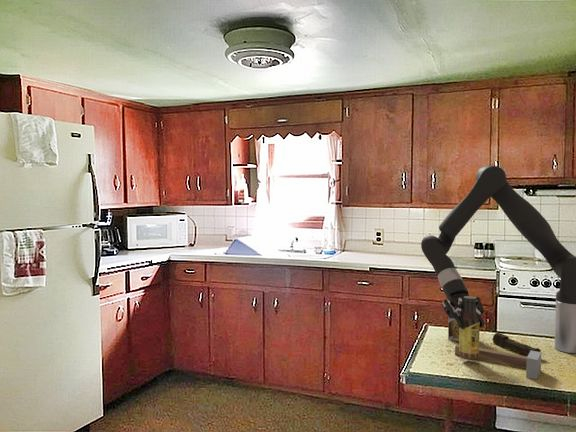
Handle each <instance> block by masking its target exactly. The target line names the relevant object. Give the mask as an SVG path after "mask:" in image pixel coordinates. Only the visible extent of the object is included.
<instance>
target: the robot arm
mask: <svg viewBox="0 0 576 432" xmlns="http://www.w3.org/2000/svg"><path fill="white" fill-rule="evenodd" d="M475 175H476V176H475V183H474V185H473V187H472V188H471V189H470V191H469V193H468V194H466V196H465V197H464V198H463V199H462V200H461V201H460V202H459V203H458V204H457V205H456V206H455V207H453V208H452V209H451V210H450V212H449V213H448V214H447V215H446V217H445V218H444V219H443V221H442V222H440V224H439V226H438V230H439V231H440V233H439V235H438V237H436V236H435V235H433V234H432V235H431V234H430V235H426V236H424V237H423V238H422V240H421V243H420V244H421V246H420V247H421V251H422V253H423V255H424V256H425V258H426V260H427V261H428V262H429V264H430V265H431V266H432V268H433V270H434V272H435V275H436V277H437V279H438V282H439V285H440V288H441V289H442V291H443V293H444V296H445V298H446V299H444V300H443V301H442V302H441V306H442V308H443V310H444V313H446V315H447V317H449V318H450V319H451V318H454V319H455V320H456V321H457V323H458V325H459V327H460V328H461V329H465V328H466V324H465V322H464V320H463V318H462V316H461V311H464V296H470V294H469V290H468V287H467V285H466V284H465V283H464V282H465V281H464V280H463V278H462V276H461V274H460V272H458V270H457V267H456V266H455V264H454V262H453V260H452V259H451V258H450V257H449V256H448V255H447V254H448V253H449V252H450V249H451V248H452V246H453V244H454V241H455V239H456V237H457V235H459V233H460V232H461V231H462V230H463V229H464V227H465V226H466V225H467V224H468V223H469V221H470V220H471V219H472V218H473V217H474V215H475V214H476V213H477V212H478V210H479V209H480V208H481V207H482V206H483V205H484V204H485V203H486V202H487V201H488V200H489V199H490V198H491V199H493V201H495V203H497V205H498V206H499V207H500V208H501V210H502V212H503V213H504V214H505V215H506V217H507V219H508V220H509V221H510V222H511V223H512V225H513V226H514V227H515V229H516V230H517V231H518V232H519V233H520V234H521V235H522V236H523V238H524V239H525V240H526V241H528V243H530V245H531V246H533V247H534V248H535V249H536V250H537V251H538V252H539V253H540V254H541V255H542V257H543V258H544V259H545V260H546V262H547V263H548V264H549V266H550V267H551V269H552V271H554V274H555V275H557V277H559V279H560V286H559V290H558V291H557V292H556V293H555V294H556V295H555V326H554V328H555V329H554V333H555V334H554V348H555V349H556V350H557V351H559V352H562V353H568V354H576V256H575V255H574V254H573V253H571V252H570V251H569V250H568V249H567V248H566V247H565V246H564V245H563V244H562V243H561V242H560V241H559V239H558V238H557V236H556V235H555V232H554V230H553V229H552V227H551V225H550V224H549V222H548V221H547V220H546V218H545V217H544V216H543V215H542V214H541V213H540V211H538V209H536V208H535V207H534V206H533V204H531V203H530V202H529V201H528V200H527V199H525V198H524V197H522V196H521V194H519V193H518V192H516V190H515V189H514V188H513V187H512V186H511V184H510V183H509V181H507V174H506V172H505V170H504V169H503V168H501V167H500V166H497V165H493V164H492V165H484V166H482V167H481V168H479V169H478V170H477V172H476V174H475ZM475 297H476V298H477V302H476V312H477V315H478V318H479V321H480V328H483V327H484V326H485V321H484V319H483V317H482V315H483V314H484V313H485V312H486V311H485V309H484V307H483V303H482V300H481V299H480V297H479V296H475ZM450 305H451V306H453V307H454V311H453V309H452V307H451V306H450ZM460 316H461V317H460Z"/></svg>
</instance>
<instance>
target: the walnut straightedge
mask: <svg viewBox="0 0 576 432" xmlns="http://www.w3.org/2000/svg"><path fill="white" fill-rule="evenodd" d="M459 352H460V351H459V343H457V344H456V345H455V346H454V355H455V356H460V355H459ZM475 359H477V360H481V361H487V362H491V363H495V364H497V363H498V364H502V365H507V366H511V367H512V366H513V367H518V368H524V369H526V361H527V356H525V355H522V354H521V355H520V354H516V353H508V352H504V351H503V352H502V351H498V350H492V349H488V348H487V349H486V348H481V347H479V353H478V358H475ZM475 359H474V360H475Z"/></svg>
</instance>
